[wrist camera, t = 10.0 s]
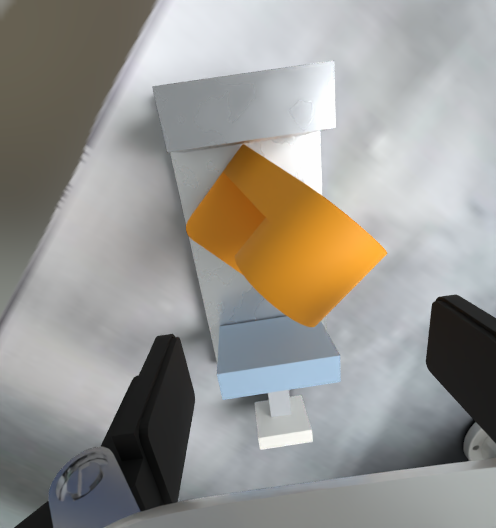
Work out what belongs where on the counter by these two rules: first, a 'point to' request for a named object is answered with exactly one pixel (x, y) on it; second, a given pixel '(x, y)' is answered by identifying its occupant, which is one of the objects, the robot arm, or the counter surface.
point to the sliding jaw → (276, 373)
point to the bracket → (283, 237)
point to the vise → (226, 146)
